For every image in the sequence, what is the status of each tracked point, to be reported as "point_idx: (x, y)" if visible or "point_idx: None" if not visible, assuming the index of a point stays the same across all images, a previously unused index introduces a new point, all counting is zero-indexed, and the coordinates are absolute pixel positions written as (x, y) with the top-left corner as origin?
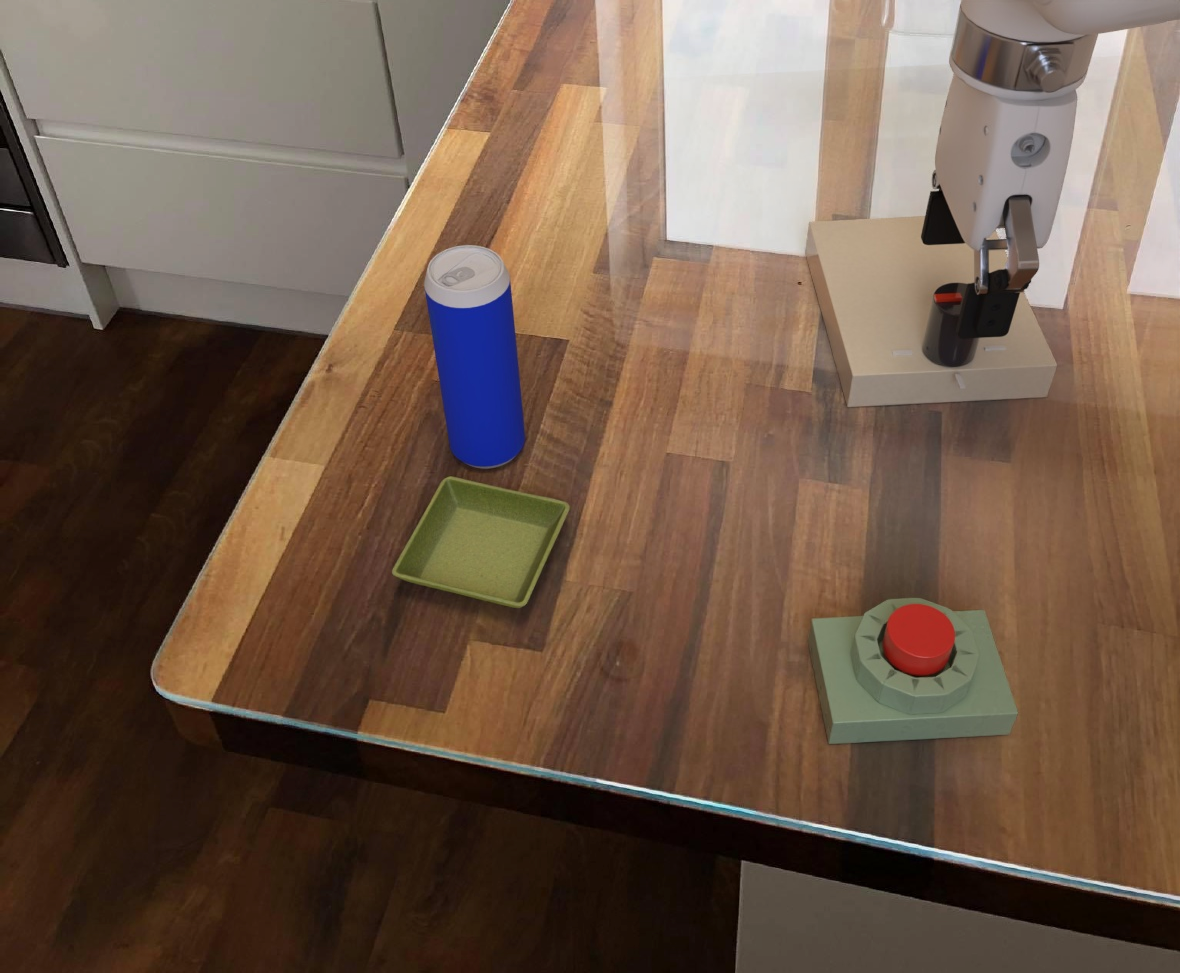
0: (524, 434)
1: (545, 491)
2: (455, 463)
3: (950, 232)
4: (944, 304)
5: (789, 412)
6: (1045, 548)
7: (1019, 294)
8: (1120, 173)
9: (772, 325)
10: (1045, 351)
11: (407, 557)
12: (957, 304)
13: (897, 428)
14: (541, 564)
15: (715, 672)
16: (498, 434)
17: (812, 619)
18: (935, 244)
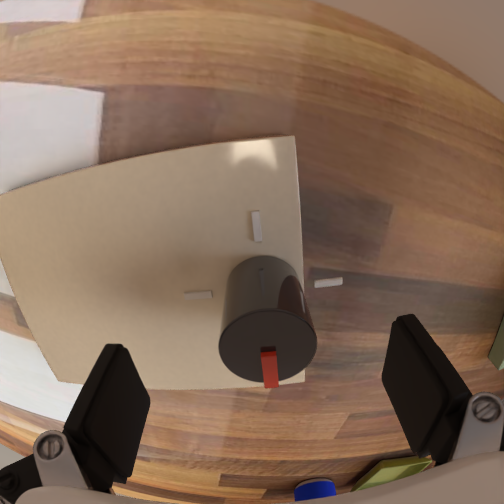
0: (317, 484)
1: (351, 466)
2: None
3: (131, 392)
4: (284, 372)
5: (301, 388)
6: (482, 199)
7: (458, 375)
8: None
9: (181, 394)
10: (261, 148)
11: None
12: (284, 356)
13: (332, 311)
14: (414, 464)
15: (481, 389)
16: None
17: (498, 369)
18: (145, 389)
